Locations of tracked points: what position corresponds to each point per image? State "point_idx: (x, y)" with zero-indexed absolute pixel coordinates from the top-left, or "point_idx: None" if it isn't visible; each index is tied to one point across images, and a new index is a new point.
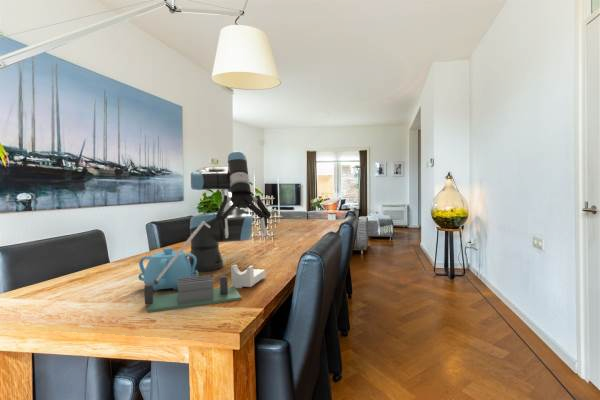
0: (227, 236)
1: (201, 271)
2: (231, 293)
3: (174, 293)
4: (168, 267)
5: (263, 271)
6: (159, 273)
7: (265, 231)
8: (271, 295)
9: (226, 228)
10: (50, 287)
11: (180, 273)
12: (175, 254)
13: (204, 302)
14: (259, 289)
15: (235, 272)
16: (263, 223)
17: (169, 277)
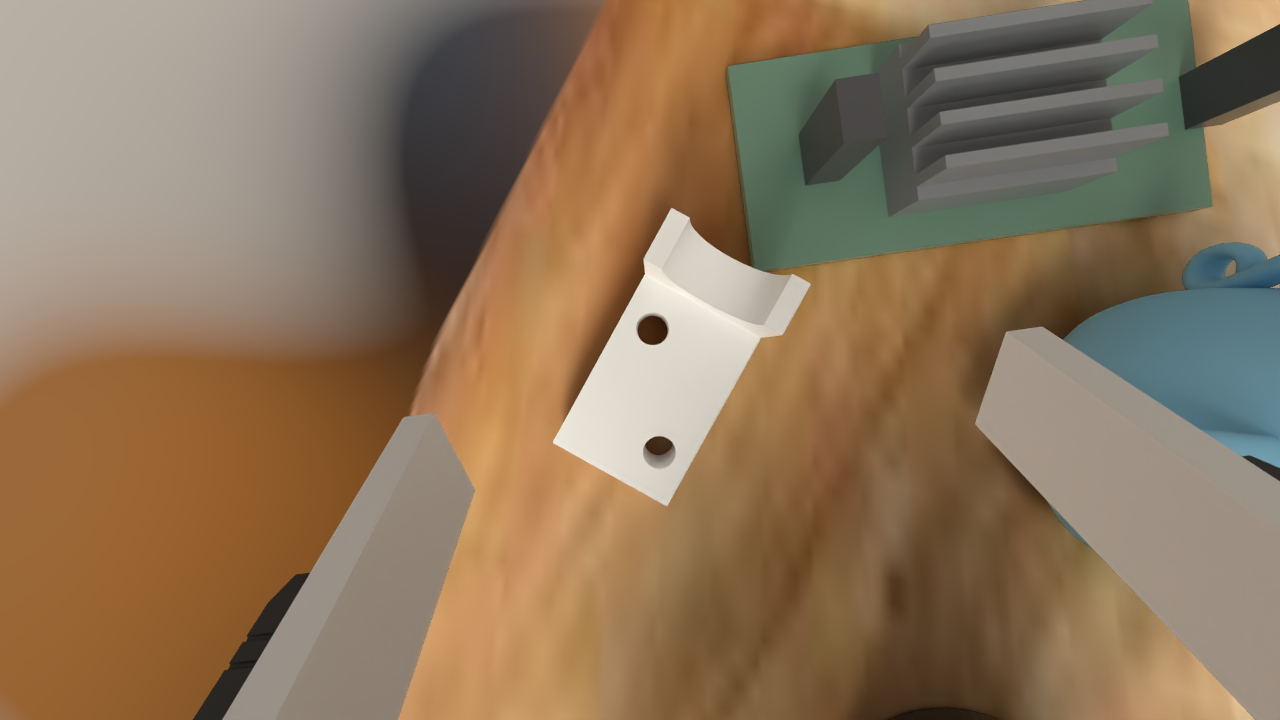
0: (999, 376)
1: (965, 710)
2: (777, 140)
3: (1089, 222)
4: None
5: (567, 417)
6: None
7: (398, 437)
8: (568, 102)
9: (1139, 401)
10: None
11: (1160, 310)
12: None
13: (914, 37)
14: (619, 221)
15: (768, 273)
16: (333, 579)
17: (1213, 288)
